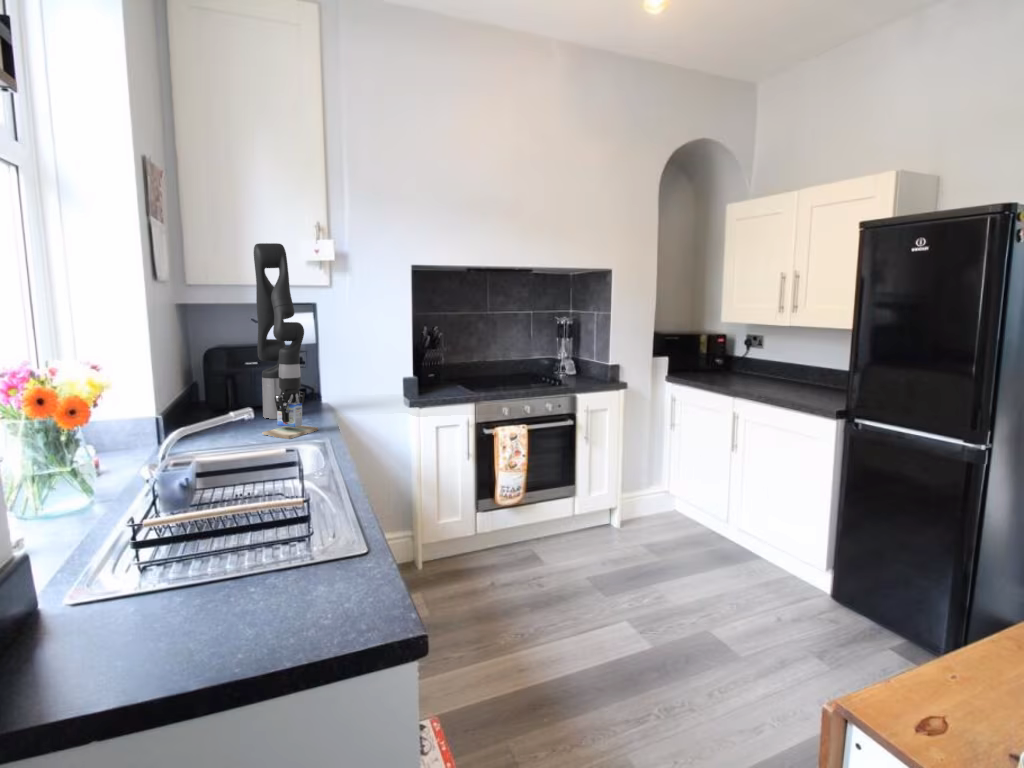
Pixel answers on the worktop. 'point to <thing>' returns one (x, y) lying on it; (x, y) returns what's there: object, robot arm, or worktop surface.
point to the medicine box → (291, 416)
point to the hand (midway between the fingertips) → (290, 420)
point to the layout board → (290, 431)
